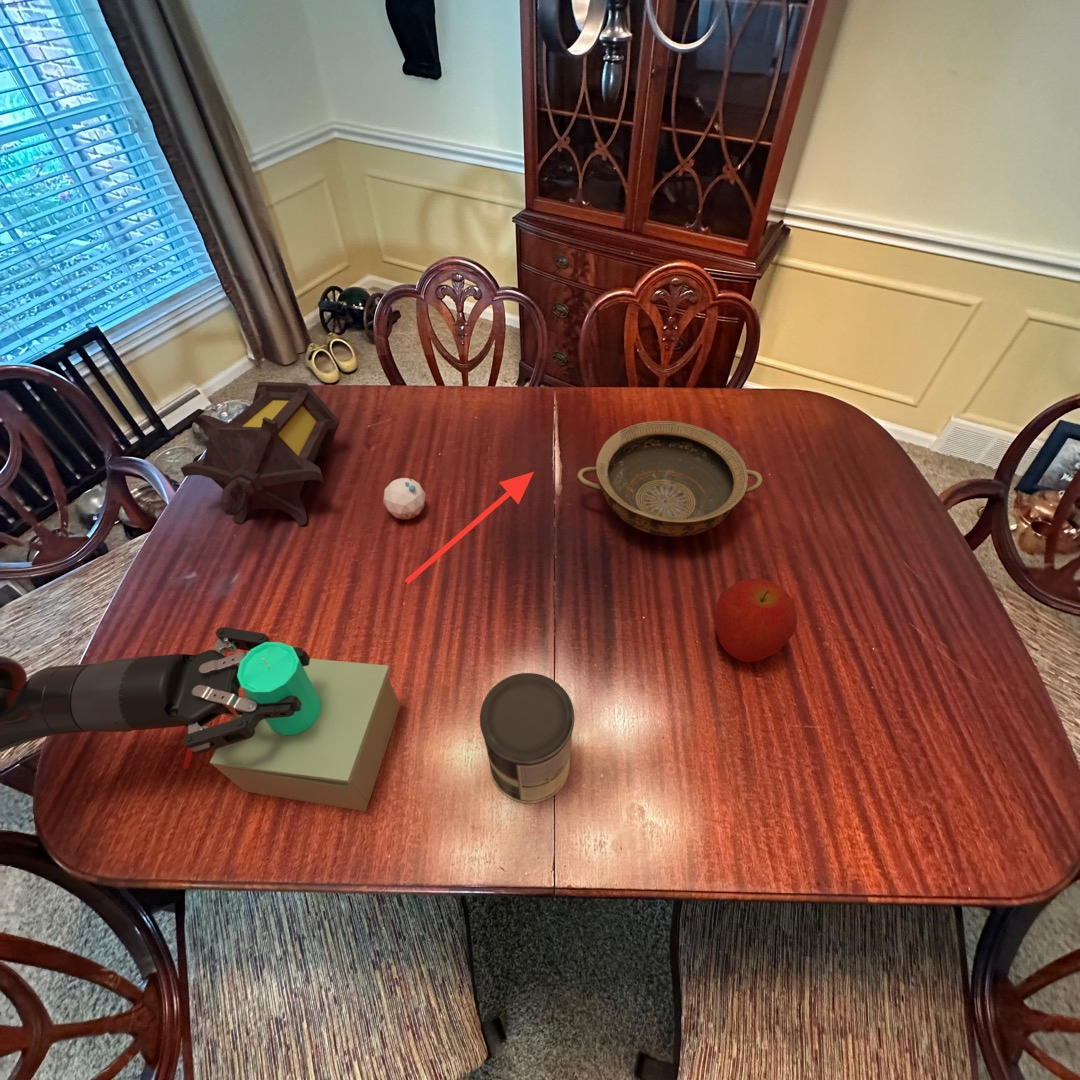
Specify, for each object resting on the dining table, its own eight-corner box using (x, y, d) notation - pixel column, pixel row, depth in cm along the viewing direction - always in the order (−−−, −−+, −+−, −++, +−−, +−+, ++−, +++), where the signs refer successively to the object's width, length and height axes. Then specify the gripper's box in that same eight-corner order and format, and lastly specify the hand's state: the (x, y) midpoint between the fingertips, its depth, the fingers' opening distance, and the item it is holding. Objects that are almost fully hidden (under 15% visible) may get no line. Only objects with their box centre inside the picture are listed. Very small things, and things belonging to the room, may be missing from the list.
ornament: (384, 527, 102) (373, 494, 96) (394, 497, 107) (384, 463, 101) (423, 529, 102) (415, 496, 96) (431, 499, 106) (424, 465, 100)
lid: (390, 668, 73) (388, 665, 72) (350, 783, 64) (347, 780, 64) (267, 657, 76) (264, 653, 76) (212, 765, 67) (209, 762, 67)
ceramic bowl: (740, 465, 111) (754, 422, 103) (762, 567, 95) (781, 526, 88) (577, 459, 112) (579, 416, 105) (573, 559, 97) (575, 517, 89)
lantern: (367, 466, 119) (313, 570, 96) (252, 453, 119) (171, 554, 96) (355, 363, 105) (288, 457, 82) (224, 349, 105) (121, 438, 82)
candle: (308, 740, 67) (277, 691, 58) (257, 730, 68) (219, 680, 58) (329, 691, 71) (304, 638, 62) (281, 682, 71) (249, 628, 62)
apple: (785, 631, 88) (817, 574, 77) (769, 688, 82) (802, 635, 71) (715, 606, 91) (737, 547, 80) (696, 659, 85) (717, 603, 75)
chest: (400, 705, 81) (386, 674, 74) (365, 811, 72) (346, 787, 66) (290, 689, 83) (267, 657, 76) (243, 791, 74) (212, 765, 67)
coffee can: (479, 794, 74) (467, 751, 63) (501, 716, 80) (493, 664, 69) (562, 813, 72) (564, 772, 61) (577, 732, 78) (582, 681, 68)
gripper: (91, 746, 56) (278, 730, 57) (143, 616, 65) (304, 604, 66) (134, 774, 62) (303, 759, 62) (176, 651, 71) (323, 639, 72)
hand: (302, 679), depth 64 cm, fingers closed on candle, 4 cm apart
